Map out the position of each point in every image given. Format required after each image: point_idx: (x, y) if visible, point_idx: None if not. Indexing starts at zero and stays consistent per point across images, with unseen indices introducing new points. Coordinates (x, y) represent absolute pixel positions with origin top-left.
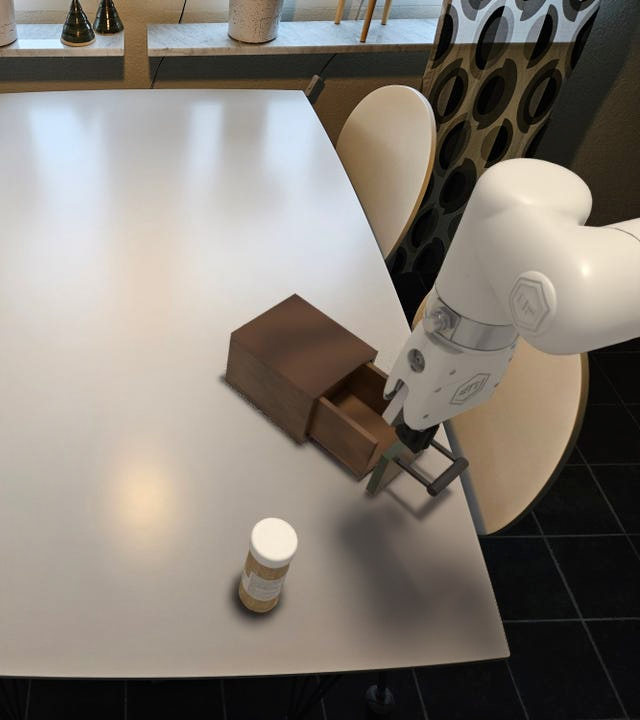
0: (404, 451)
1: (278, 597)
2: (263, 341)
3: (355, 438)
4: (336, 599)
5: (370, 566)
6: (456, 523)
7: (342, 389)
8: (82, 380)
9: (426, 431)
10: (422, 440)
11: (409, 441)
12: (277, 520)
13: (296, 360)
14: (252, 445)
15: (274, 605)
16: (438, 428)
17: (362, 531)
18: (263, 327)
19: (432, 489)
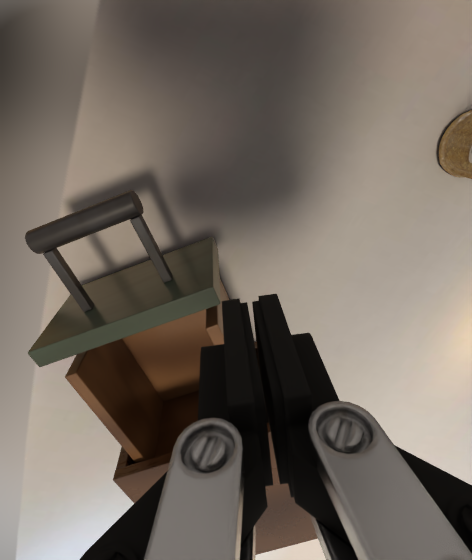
0: (158, 295)
1: (453, 123)
2: (295, 518)
3: None
4: (366, 87)
5: (278, 123)
6: (87, 145)
7: (172, 404)
8: (455, 463)
9: (310, 396)
10: (294, 346)
11: (315, 348)
12: None
13: (266, 487)
14: (326, 352)
15: (469, 112)
16: (228, 392)
17: (255, 186)
18: (279, 535)
19: (136, 205)
